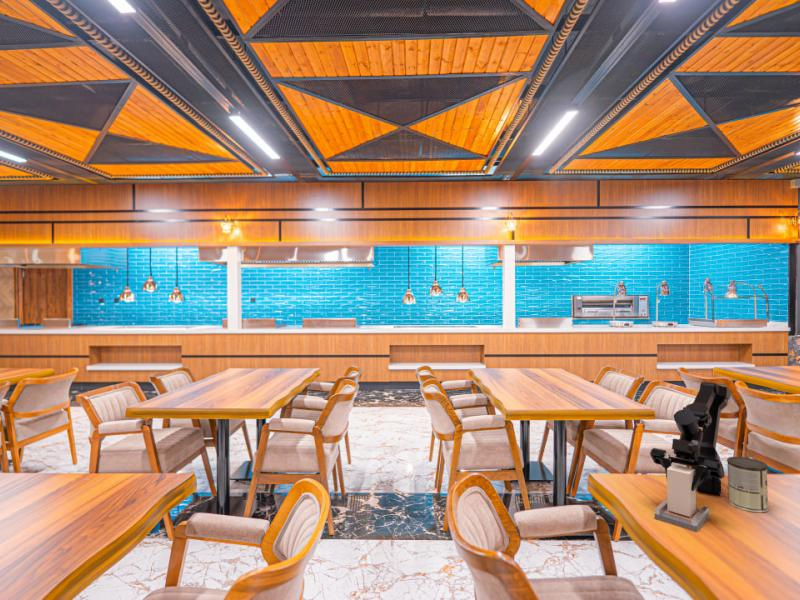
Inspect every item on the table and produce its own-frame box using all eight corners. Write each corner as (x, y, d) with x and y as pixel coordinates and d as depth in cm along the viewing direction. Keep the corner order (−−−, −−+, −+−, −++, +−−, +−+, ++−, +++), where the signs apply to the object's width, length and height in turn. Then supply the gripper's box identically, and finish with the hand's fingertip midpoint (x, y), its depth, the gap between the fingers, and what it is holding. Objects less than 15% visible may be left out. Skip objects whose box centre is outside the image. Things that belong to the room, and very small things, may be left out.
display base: (697, 531, 126) (696, 521, 126) (654, 518, 134) (654, 508, 134) (709, 517, 135) (708, 507, 135) (668, 505, 143) (668, 496, 143)
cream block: (673, 504, 139) (673, 464, 139) (696, 510, 134) (695, 469, 134) (667, 510, 134) (666, 468, 135) (690, 516, 130) (689, 474, 130)
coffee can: (724, 496, 149) (723, 454, 149) (762, 502, 145) (761, 458, 145) (732, 509, 140) (731, 464, 140) (773, 515, 135) (772, 469, 136)
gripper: (651, 423, 144) (639, 465, 137) (720, 434, 131) (711, 482, 123) (660, 441, 150) (649, 483, 142) (727, 455, 136) (719, 502, 128)
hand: (680, 487), depth 134 cm, fingers closed on cream block, 6 cm apart
